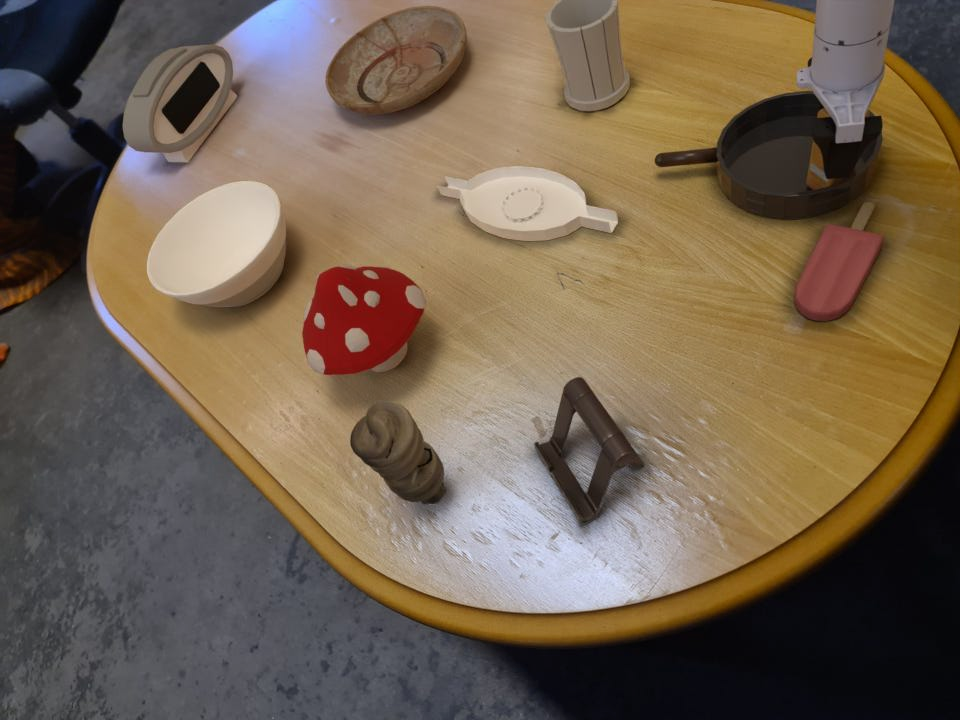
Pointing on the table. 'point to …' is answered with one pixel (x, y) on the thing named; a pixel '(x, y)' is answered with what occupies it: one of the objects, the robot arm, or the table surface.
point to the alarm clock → (179, 101)
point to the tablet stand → (606, 434)
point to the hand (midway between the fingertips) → (835, 149)
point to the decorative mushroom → (360, 319)
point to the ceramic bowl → (397, 60)
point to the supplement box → (821, 164)
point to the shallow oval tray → (527, 204)
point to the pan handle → (687, 157)
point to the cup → (589, 52)
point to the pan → (783, 161)
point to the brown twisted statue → (399, 453)
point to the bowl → (221, 247)
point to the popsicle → (837, 268)
